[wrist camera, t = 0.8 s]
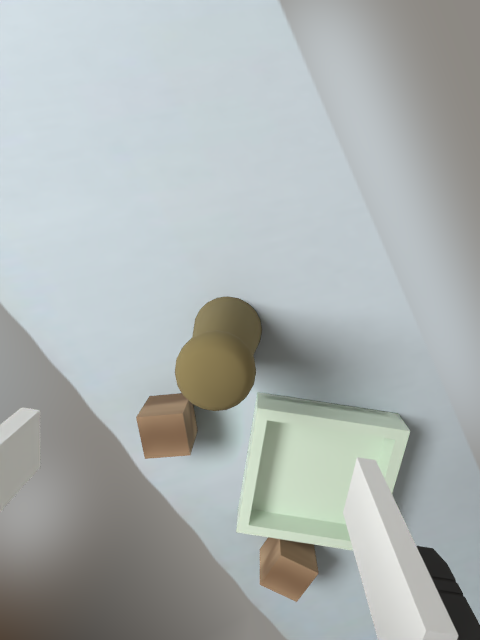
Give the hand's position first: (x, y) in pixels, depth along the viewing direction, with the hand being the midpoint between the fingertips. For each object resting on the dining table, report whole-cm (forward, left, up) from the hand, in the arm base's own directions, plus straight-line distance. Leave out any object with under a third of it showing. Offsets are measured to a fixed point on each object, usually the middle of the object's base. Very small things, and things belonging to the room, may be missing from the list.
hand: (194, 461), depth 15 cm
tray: (+12, +10, -18) cm, 24 cm away
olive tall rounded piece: (0, 0, -19) cm, 19 cm away
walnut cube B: (+22, +9, -19) cm, 30 cm away
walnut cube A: (+9, -4, -19) cm, 21 cm away
